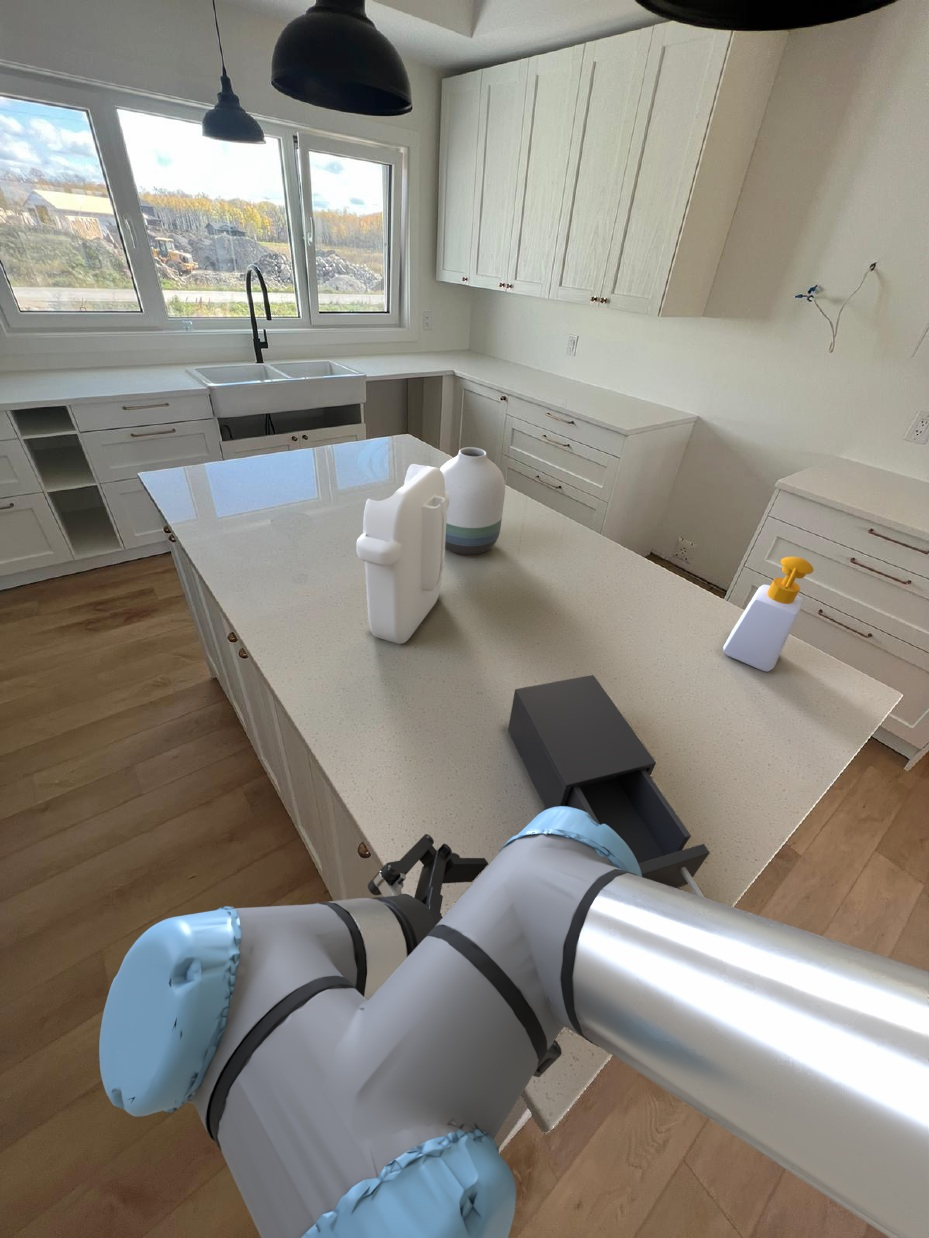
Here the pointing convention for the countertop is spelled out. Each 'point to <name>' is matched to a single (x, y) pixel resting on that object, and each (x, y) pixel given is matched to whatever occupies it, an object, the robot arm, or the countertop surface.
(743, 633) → the soap bottle
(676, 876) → the grey drawer with handle
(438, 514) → the white jerry can
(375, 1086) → the robot arm
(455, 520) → the vase
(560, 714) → the black drawer box
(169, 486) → the countertop surface
